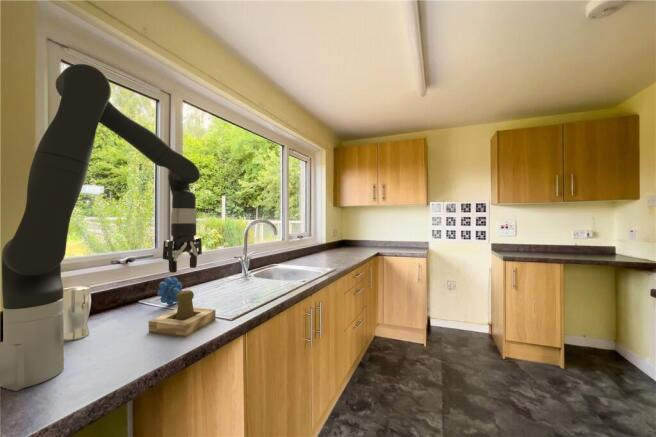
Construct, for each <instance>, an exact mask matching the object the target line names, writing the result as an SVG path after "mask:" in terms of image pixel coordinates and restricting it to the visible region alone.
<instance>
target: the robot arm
mask: <svg viewBox="0 0 656 437" xmlns="http://www.w3.org/2000/svg"><path fill="white" fill-rule="evenodd" d="M55 89H56V91H57V93H58V95H59V96H60V100H59V104H58V108H57V112H56V113H55V115H54V117H53V119H52V120H51V122H50V124H49V125H48V127H47V128H46V130H45V132H44V134H43V135H42V137H41V139H40V141H39V143H38V146H37V148H36V150H35V153H34V157H33V159H32V162H31V165H30V169H29V174H28V179H27V188H26V204H25V209H24V212H23V214H22V218H21V220H20V222H19V225H18V227H17V229H16V231H15V233H14V235H13V236H12V238H11V239H10V240H8V241H7V242H6V243H5V245H4V247H3V248H2V251H1V283H2V284H1V292H2V295H1V296H2V307H3V308H2V310H3V311H2V312H3V313H2V316H3V318H2V319H3V320H2V322H3V325H2V326H3V327H2V330H3V332H2V334H3V339H2V340H3V341H1V342H0V388H1V387H3V388H2V389H5V388H6V390H10V391H14V392H17V391H20V390H22V389H24V388H29V387H31V386H35V385H38V384H41V383H44V382H46V381H49V380H51V379H52V378H54V377H56V376H58V375H60V374H61V372H63V371H64V369H65V366H64V365H65V363H64V362H65V354H64V351H65V346H64V345H65V344H64V342H65V341H64V313H63V310H64V306H63V289H64V286H63V281H62V272H61V271H62V268H61V266H62V262H63V260H64V259H65V257H66V251H67V242H68V234H69V228H70V222H71V217H72V215H73V213H74V209H75V207H76V205H77V202H78V200H79V198H80V194H81V192H82V189H83V186H84V183H85V182H86V181H85V180H86V178H87V174H88V170H89V167H90V163H91V159H92V154H93V150H94V146H95V139H96V135H97V134H96V133H97V130H98V125H99V124H101V125H103V127H105V128H107V129H108V130H110V131H111V132H113V133H114V134H115V135H117V136H118V137H120V138H121V139H122V140H124V141H125V142H127V143H128V144H129V145H131V146H132V147H133V148H135V149H136V150H137V151H138V152H139V153H141V154H142V155H143V156H144V157H146V158H147V159H148V160H150V161H151V162H152V163H153V164H155V165H156V166H157V167H162V168H166V169H167V170H168V174H167V176H168V184H169V188H170V192H171V195H172V197H171V198H172V199H171V205H172V206H171V214H170V236H171V237H172V240H164V241H163V245H162V246H163V248H162V259H163V260H164V261H165V260H166V261H168V271H169V273H173V274H174V273H177V271H178V261H177V260H178V258H179V256H181V255H182V253H187V254H188V255H189V256H190V257H189V268H191V269H196V268H197V265H198V263H197V262H198V257H199V255H202V253H203V250H202V238H199V237H195V236H197V211H196V209H197V208H196V207H197V206H196V202H197V200H196V194H195V193H194V192H193V191H191V188H190V187H191V186H190V184H195V183H197V182H198V181H199V180H200V177H201V172H200V170H199V167H197V165H196V164H195V163H194V162H193V161H191V160H190V159H188V158H187V157H186V156H184V155H182V154H181V153H179V152H177V151H175V150H174V149H173V148H172V147H170V146H169V145H168V144H167V143H166V142H165V141H164V140H163V139H162V138H161V137H159V135H157V134H155V132H153V131H152V130H150V129H148V128H147V127H145V126H144V125H142V124H140V123H138V122H137V121H135V120H133V119H131V118H130V117H128V116H127V115H126V114H124V113H123V112H121V111H120V110H119V109H118V108H117V107H116V106H114V104H113V103H111V102H110V101H109V100H110V99H111V96H112V87H111V83H110V81H109V80H108V78H107V77H106V75H105V74H104V73H103V72H102V71H101V70H100V69H98V68H96V67H95V66H93V65H89V64H86V63H76V64H73V65H69V66H68V67H65V69H64V70H62V72H61V73H60V74H59V75H58V76H57V78H56V80H55Z"/></svg>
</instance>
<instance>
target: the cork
mask: <svg viewBox="0 0 656 437" xmlns="http://www.w3.org/2000/svg"><path fill="white" fill-rule="evenodd" d="M194 296H195V294H194V291H193V290H190V289H189V290H188V289H186V290H182V291H181V292H179V293H178V294H177V296H176V297H177V301H178V302H177V308H176V309H177V315H176V320H184V321H185V320H187V319H189V318H191V317H193V316H194V310H193V308H194V306H193V299H194Z"/></svg>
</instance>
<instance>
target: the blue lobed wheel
mask: <svg viewBox="0 0 656 437" xmlns="http://www.w3.org/2000/svg"><path fill="white" fill-rule="evenodd" d="M158 287H159V288H160V289H158V290H157V295H158V297H160V302H161V303H163V304H165V303H166V304H167V305H168V306H171V305H174V303H178V301H177V297H176V296H177V294H178V293H179V292H181V291H183V290H182V288H183V284H182V282H180V281H179V278H177V277H174V276H173V277H170V276H167V277H166V278H164V281H160V283H159V284H158Z"/></svg>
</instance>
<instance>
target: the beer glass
mask: <svg viewBox="0 0 656 437" xmlns="http://www.w3.org/2000/svg"><path fill="white" fill-rule="evenodd" d="M91 305H92V293H91V285H76V286H70V287H65V288H63V306H64V310H63V313H64V342H73V341H77V340H80V339H81V340H82V339H84V338H86V337H88V336H90V329H89V325H88V322H89V315H90V311H91Z"/></svg>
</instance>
